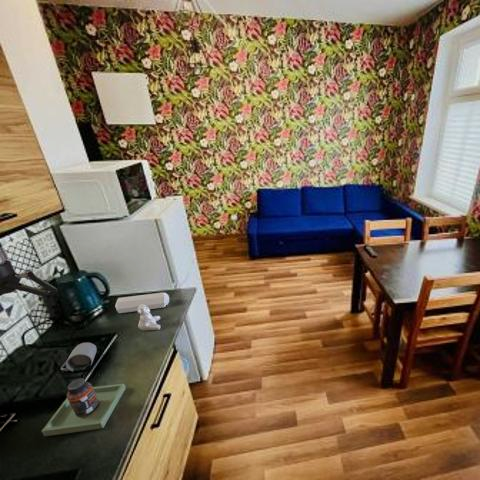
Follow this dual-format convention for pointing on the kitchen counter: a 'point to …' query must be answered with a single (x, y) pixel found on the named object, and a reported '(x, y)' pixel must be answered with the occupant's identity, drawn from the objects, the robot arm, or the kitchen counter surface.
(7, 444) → the kitchen counter surface
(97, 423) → the bottle tray
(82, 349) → the ceramic mug
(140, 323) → the sitting furry creature
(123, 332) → the kitchen counter surface
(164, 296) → the white rounded cylinder
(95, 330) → the kitchen counter surface
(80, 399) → the supplement bottle
